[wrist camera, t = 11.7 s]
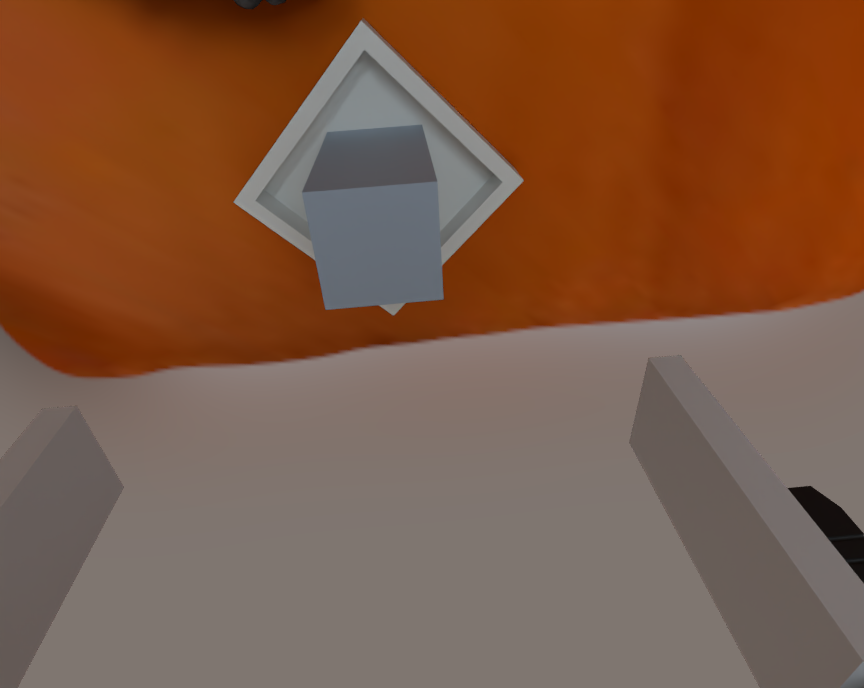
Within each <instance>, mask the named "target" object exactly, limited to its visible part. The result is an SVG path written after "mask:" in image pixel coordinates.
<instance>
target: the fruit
mask: <svg viewBox="0 0 864 688" xmlns="http://www.w3.org/2000/svg"><path fill="white" fill-rule="evenodd" d="M234 1H235V2H236V4H237V5H239V6H241V7H243V8H245V9H254V8H255V7H257V6H258V5H259V4H260V2H261V1H262V0H234ZM266 1H267V2H269V3H270V4H272V5H278V4H281V3H284V2H285V1H286V0H266Z"/></svg>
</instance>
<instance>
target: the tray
mask: <svg viewBox="0 0 864 688" xmlns="http://www.w3.org/2000/svg"><path fill="white" fill-rule="evenodd" d="M410 125H422V127H423V130H424V134H425V138H426V141H427V145H428V149H429V152H430V156H431V160H432V163H433V167H434V171H435V175H436V178H437V184H438V203H439V222H440V240H441V259H442V265H443V264H444V263H445V262H446V261H447V260H448V259H449V258H450V257H451V256H452V255H453V254H454V253H455V252H456V251H457V249H458V248H459V247H460V246H461V245H462V244H463V243H464V242H465V241H466V240H467V239H468V238H469V237H470V236H471V235H472V234H473V233H474V232H475V231H476V230H477V229H478V228H479V227H480V226H481V225H482V224H483V223H484V221H485V220H486V219H487V218H488V217H489V216H490V215H491V214H492V213H493V212H494V211H495V210H496V209H497V208H498V207H499V206H500V205H501V204H502V203H503V202H504V201H505V200H506V199H507V198H508V197H509V196H510V195H511V194H512V192H513V191H514V190H515V189H516V188H517V187H518V186H519V185H520V184H521V183H522V182H523V181H524V180H523V179H522V177H521V176H520V175H519V173H518V172H517V170H516V169H515V168H514V167H513V166H512V165H511V164H510V163H509V162H508V161H507V160H506V159H505V158H504V157H503V156H502V155H501V154H500V153H499V152H498V151H497V150H496V149H495V148H494V147H493V146H492V145H491V144H490V143H489V142H488V141H487V140H486V139H485V138H484V137H483V136H482V135H481V134H480V133H479V132H478V131H477V130H476V129H475V128H474V127H473V126H472V125H471V124H470V123H469V122H468V121H467V120H466V119H465V118H464V117H463V116H462V115H461V114H460V113H459V112H458V111H457V110H456V109H455V108H454V107H453V106H452V105H451V104H450V103H449V102H448V101H447V100H446V99H445V98H444V97H443V96H442V95H441V94H440V93H438V92H437V91H436V90H435V89H434V88H433V87H432V86H431V85H430V84H429V83H428V82H427V81H426V80H425V79H424V78H423V77H422V76H421V75H420V74H419V73H418V72H417V71H416V70H415V69H414V68H413V67H412V66H411V65H410V64H409V63H408V62H407V61H406V60H405V59H404V58H403V57H402V56H401V55H400V54H399V53H398V52H397V51H396V50H395V49H394V48H393V47H392V46H391V45H390V44H389V43H388V42H387V41H386V40H385V39H384V38H383V37H382V36H381V35H380V34H379V33H378V32H377V31H376V30H375V29H374V28H373V27H372V26H371V25H370V24H369V23H368V22H367V21H366V20H365V19H364V18H363V19H362V20H361V21H360V23H359V24H358V26H357V27H356V28H355V30H354V31H353V33H352V34H351V36H350V37H349V38H348V40H347V41H346V43H345V44H344V45H343V47H342V48H341V50H340V51H339V53H338V54H337V55H336V57H335V58H334V60H333V61H332V63H331V64H330V65H329V67H328V68H327V70H326V71H325V73H324V74H323V75H322V77H321V78H320V80H319V81H318V82H317V84H316V85H315V87H314V88H313V90H312V91H311V92H310V94H309V95H308V97H307V98H306V100H305V101H304V102H303V104H302V105H301V107H300V108H299V110H298V111H297V112H296V114H295V115H294V117H293V118H292V119H291V121H290V122H289V124H288V125H287V127H286V128H285V129H284V131H283V132H282V134H281V135H280V137H279V138H278V139H277V141H276V142H275V144H274V145H273V147H272V148H271V149H270V151H269V152H268V154H267V155H266V156H265V158H264V159H263V161H262V162H261V164H260V165H259V166H258V168H257V169H256V171H255V172H254V174H253V175H252V176H251V178H250V179H249V181H248V182H247V183H246V185H245V186H244V188H243V189H242V191H241V192H240V193H239V195H238V196H237V198H236V199H235V201H234V202H233V203H235V204H236V205H238V206H239V207H241V208H242V209H243V210H245V211H246V212H248V213H249V214H250V215H252V216H253V217H255V218H256V219H257V220H259V221H260V222H262V223H263V224H265V225H266V226H267V227H269V228H270V229H272V230H273V231H274V232H276V233H277V234H279V235H280V236H281V237H283V238H284V239H286V240H287V241H289V242H290V243H291V244H293V245H294V246H296V247H297V248H298V249H300V250H301V251H303V252H304V253H305V254H307V255H308V256H310V257H311V258H313V259H314V260H315V255H314V250H313V246H312V241H311V236H310V231H309V226H308V221H307V216H306V211H305V206H304V201H303V196H302V191H303V188H304V186H305V184H306V181H307V179H308V177H309V174H310V172H311V169H312V167H313V165H314V162H315V160H316V158H317V155H318V153H319V150H320V148H321V146H322V143H323V141H324V139H325V136H326V134H327V132H334V131H347V130H359V129H372V128H385V127H397V126H410ZM315 261H316V260H315ZM404 304H405V303H398V304H387V305H379V306H380V307H382V308H383V309H385V310H386V311H387V312H389V313H390V314H392V315H393V316H394V315H395V314H396V313H397V312H398V311H399V310H400V309H401V307H402V306H403V305H404Z"/></svg>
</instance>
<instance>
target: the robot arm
mask: <svg viewBox="0 0 864 688" xmlns="http://www.w3.org/2000/svg"><path fill="white" fill-rule="evenodd" d="M629 443H630V445H631V447H632V448H633V450H634V452H635V454H636V456H637V458H638V460H639V462H640V463H641V465H642V467H643V469H644V471H645V473H646V475H647V477H648V479H649V480H650V482H651V484H652V486H653V488H654V490H655V492H656V494H657V495H658V497H659V499H660V501H661V503H662V505H663V507H664V509H665V511H666V512H667V514H668V516H669V518H670V520H671V522H672V524H673V526H674V527H675V529H676V531H677V533H678V535H679V537H680V539H681V540H682V542H683V544H684V546H685V548H686V550H687V552H688V554H689V556H690V557H691V559H692V561H693V563H694V565H695V567H696V568H697V571H698V573H699V574H700V576H701V578H702V580H703V582H704V584H705V586H706V588H707V589H708V591H709V593H710V595H711V597H712V599H713V601H714V603H715V604H716V606H717V608H718V610H719V612H720V613H721V616H722V618H723V619H724V621H725V623H726V625H727V627H728V629H729V631H730V633H731V634H732V636H733V638H734V640H735V642H736V644H737V646H738V648H739V649H740V651H741V653H742V655H743V657H744V659H745V661H746V662H747V664H748V666H749V668H750V670H751V672H752V674H753V676H754V678H755V680H756V681H757V683H758V685H759V687H760V688H864V533H863V532H862V531H861V530H860V529H859V528H858V527H857V525H856V524H855V523H854V522H853V521H852V520H851V519H850V517H849V516H848V515H847V514H846V513H845V512H844V510H843V509H842V508H841V507H839V506H838V505H837V504H835V503H834V502H832V501H831V500H830V499H828V498H827V497H825V496H824V495H823V494H821V493H820V492H818V491H817V490H815V489H814V488H813V487H811V486H805V487H795V488H787V487H786V486H785V485H784V483H783V482H782V481H781V480H780V478H779V477H778V476H777V475H776V473H775V472H774V471H773V470H772V468H771V467H770V466H769V465H768V463H767V462H766V461H765V460H764V458H763V457H762V456H761V455H760V453H759V452H758V451H757V450H756V448H755V447H754V446H753V445H752V443H751V442H750V441H749V440H748V439H747V437H746V436H745V435H744V433H743V432H742V431H741V430H740V428H739V427H738V426H737V425H736V423H735V422H734V421H733V420H732V418H731V417H730V416H729V415H728V414H727V412H726V411H725V410H724V408H723V407H722V406H721V405H720V404H719V402H718V401H717V400H716V398H715V397H714V396H713V395H712V394H711V392H710V391H709V390H708V388H707V387H706V386H705V385H704V383H702V381H701V380H700V378H698V376H697V375H696V373H695V372H694V371H693V370H692V368H691V367H690V366H689V365H688V364H687V362H686V361H685V360H684V358H683V357H682V356H681V355H677V356H665V357H654V358H648V363H647V367H646V371H645V376H644V380H643V385H642V389H641V393H640V398H639V402H638V406H637V411H636V415H635V420H634V424H633V428H632V432H631V437H630V442H629ZM123 488H124V486H123V485H122V483H121V481H120V480H119V478H118V476H117V474H116V473H115V471H114V469H113V467H112V466H111V464H110V462H109V461H108V459H107V457H106V455H105V454H104V452H103V450H102V448H101V447H100V445H99V443H98V442H97V440H96V438H95V436H94V435H93V433H92V431H91V430H90V428H89V426H88V424H87V423H86V421H85V419H84V417H83V416H82V414H81V412H80V411H79V409H78V407H77V406H69V407H57V408H44V409H41V411H40V412H39V413H38V414H37V416H36V417H35V418H34V419H33V420H32V422H31V423H30V424H29V425H28V427H27V428H26V429H25V430H24V431H23V433H22V434H21V435H20V436H19V437H18V439H17V440H16V441H15V442H14V444H13V445H12V446H11V447H10V448H9V450H8V451H7V452H6V453H5V454H4V456H3V457H2V458H1V459H0V688H18V686H19V684H20V682H21V680H22V679H23V677H24V675H25V672H26V671H27V669H28V667H29V665H30V663H31V662H32V659H33V658H34V656H35V654H36V652H37V650H38V648H39V646H40V645H41V643H42V641H43V639H44V637H45V635H46V633H47V631H48V629H49V628H50V626H51V624H52V622H53V620H54V618H55V616H56V614H57V612H58V611H59V609H60V607H61V605H62V603H63V601H64V599H65V597H66V595H67V594H68V592H69V590H70V588H71V586H72V584H73V582H74V580H75V578H76V577H77V575H78V573H79V571H80V569H81V567H82V565H83V563H84V562H85V560H86V558H87V556H88V554H89V552H90V550H91V548H92V546H93V545H94V543H95V541H96V539H97V537H98V535H99V533H100V531H101V529H102V528H103V526H104V524H105V522H106V520H107V518H108V516H109V514H110V512H111V510H112V509H113V507H114V505H115V503H116V501H117V499H118V497H119V495H120V494H121V492H122V490H123Z"/></svg>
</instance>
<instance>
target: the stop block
mask: <svg viewBox="0 0 864 688" xmlns="http://www.w3.org/2000/svg"><path fill="white" fill-rule="evenodd" d="M302 196H303V201H304V206H305V211H306V216H307V221H308V226H309V231H310V236H311V241H312V246H313V250H314V255H315V260H316V265H317V270H318V275H319V280H320V285H321V290H322V295H323V300H324V305H325V310H330V309H341V308H352V307H364V306H375V305H387V304H398V303H409V302H421V301H432V300H443V299H444V297H443V278H442V259H441V240H440V222H439V203H438V184H437V178H436V175H435V171H434V167H433V163H432V160H431V156H430V152H429V149H428V145H427V141H426V138H425V134H424V130H423V127H422V125H410V126H397V127H385V128H372V129H359V130H347V131H334V132H327V134H326V136H325V139H324V141H323V143H322V146H321V148H320V150H319V153H318V155H317V158H316V160H315V162H314V165H313V167H312V169H311V172H310V174H309V177H308V179H307V181H306V184H305V186H304V188H303V191H302Z"/></svg>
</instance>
